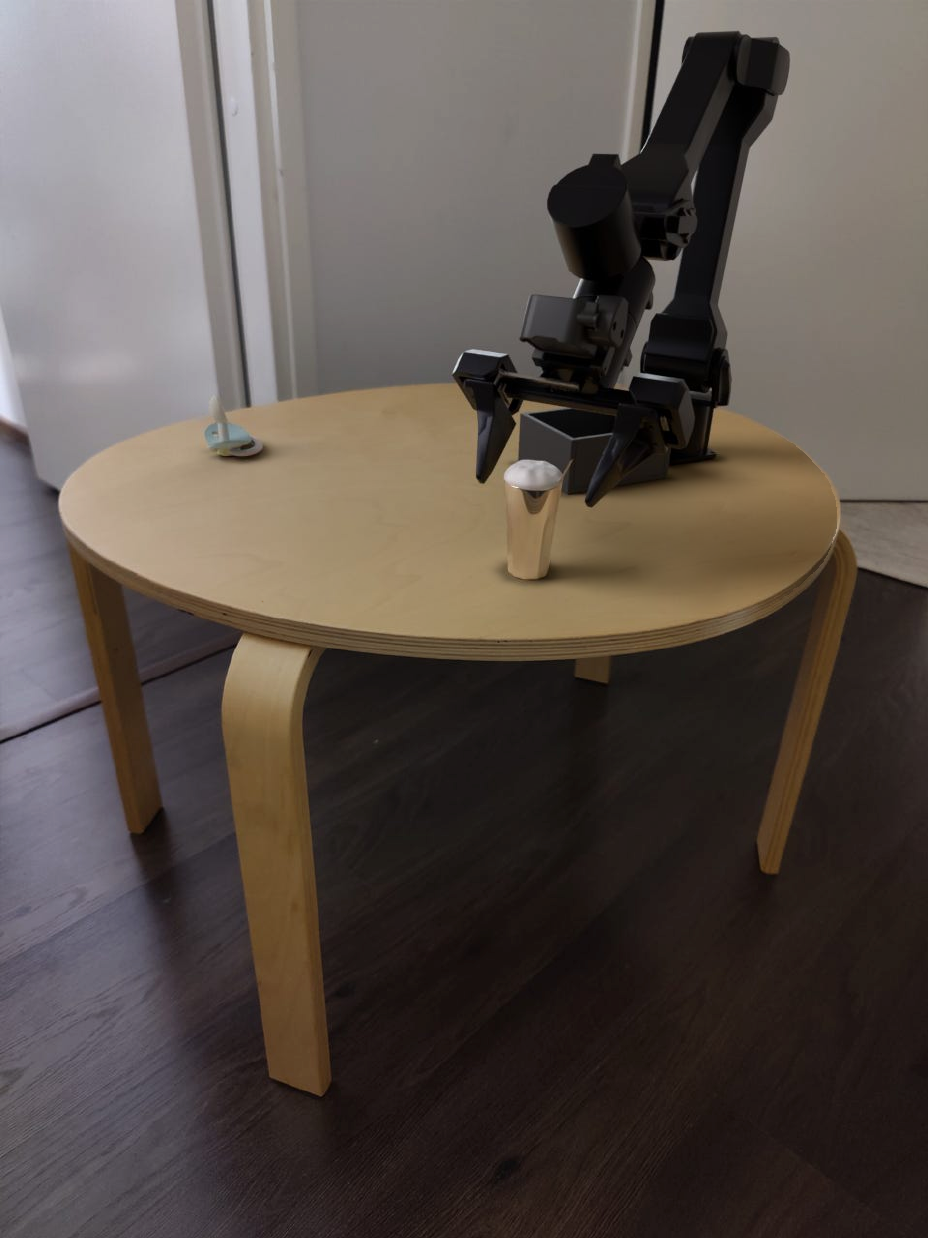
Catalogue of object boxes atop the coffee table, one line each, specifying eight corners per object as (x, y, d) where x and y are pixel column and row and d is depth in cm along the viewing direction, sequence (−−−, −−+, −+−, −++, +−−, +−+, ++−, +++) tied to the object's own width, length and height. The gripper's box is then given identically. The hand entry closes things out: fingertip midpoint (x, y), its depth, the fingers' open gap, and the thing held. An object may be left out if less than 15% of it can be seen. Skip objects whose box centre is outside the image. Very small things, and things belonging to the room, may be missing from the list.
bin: (611, 449, 98) (616, 401, 95) (667, 477, 90) (674, 426, 87) (517, 463, 93) (520, 412, 91) (567, 494, 85) (571, 440, 83)
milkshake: (549, 591, 67) (558, 468, 62) (489, 574, 69) (493, 454, 64) (574, 570, 70) (584, 451, 65) (517, 554, 73) (522, 439, 68)
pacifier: (258, 440, 99) (204, 443, 97) (254, 385, 96) (198, 387, 94) (267, 460, 93) (210, 463, 91) (263, 402, 90) (204, 404, 88)
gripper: (466, 239, 66) (386, 416, 63) (707, 258, 57) (629, 462, 54) (510, 331, 75) (442, 487, 72) (721, 358, 67) (655, 536, 64)
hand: (532, 492), depth 66 cm, fingers open, 9 cm apart
